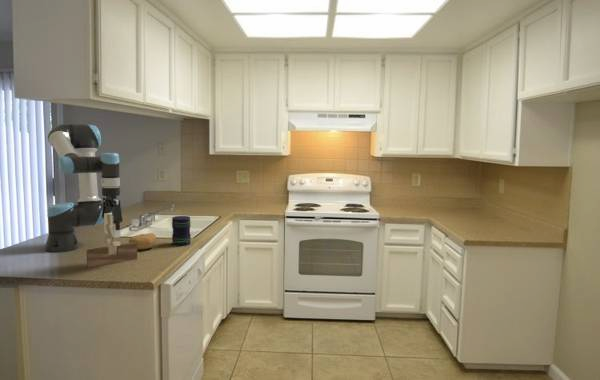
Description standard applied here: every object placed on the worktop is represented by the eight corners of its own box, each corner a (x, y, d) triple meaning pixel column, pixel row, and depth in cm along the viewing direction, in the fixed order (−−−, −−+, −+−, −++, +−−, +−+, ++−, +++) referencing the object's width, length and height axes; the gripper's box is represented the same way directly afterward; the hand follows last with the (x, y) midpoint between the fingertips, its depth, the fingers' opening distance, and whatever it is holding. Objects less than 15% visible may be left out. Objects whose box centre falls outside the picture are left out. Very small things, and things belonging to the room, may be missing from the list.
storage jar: (193, 242, 231) (193, 216, 229) (186, 246, 221) (186, 219, 219) (176, 241, 232) (176, 215, 230) (169, 245, 222) (168, 218, 220)
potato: (126, 249, 213) (125, 234, 212) (153, 245, 222) (152, 231, 221) (132, 253, 206) (132, 237, 205) (159, 249, 215) (159, 234, 214)
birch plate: (104, 242, 190) (103, 213, 189) (111, 241, 192) (110, 212, 191) (113, 246, 183) (112, 215, 182) (120, 245, 185) (119, 215, 184)
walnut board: (87, 267, 182) (86, 249, 181) (135, 258, 198) (135, 241, 197) (88, 268, 180) (88, 250, 180) (137, 258, 196) (136, 242, 195)
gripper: (92, 185, 190) (94, 232, 192) (112, 189, 174) (114, 240, 177) (109, 184, 195) (110, 230, 198) (129, 188, 180) (131, 238, 182)
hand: (112, 235), depth 187 cm, fingers closed on birch plate, 10 cm apart
